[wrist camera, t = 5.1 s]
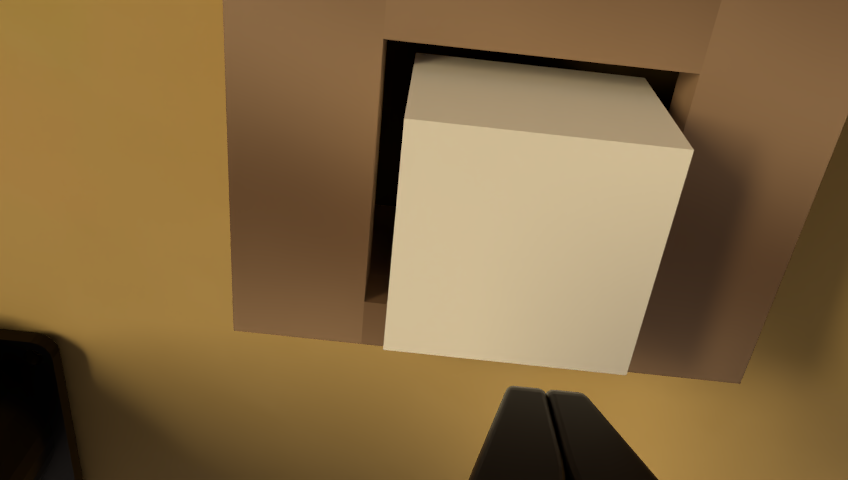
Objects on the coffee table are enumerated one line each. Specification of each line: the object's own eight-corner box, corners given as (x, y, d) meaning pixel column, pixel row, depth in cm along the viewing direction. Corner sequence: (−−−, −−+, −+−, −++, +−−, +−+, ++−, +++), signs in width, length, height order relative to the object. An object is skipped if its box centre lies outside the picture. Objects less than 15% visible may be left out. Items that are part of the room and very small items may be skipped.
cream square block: (596, 271, 15) (626, 374, 12) (397, 250, 15) (382, 349, 12) (644, 77, 13) (694, 150, 10) (415, 52, 13) (404, 119, 10)
